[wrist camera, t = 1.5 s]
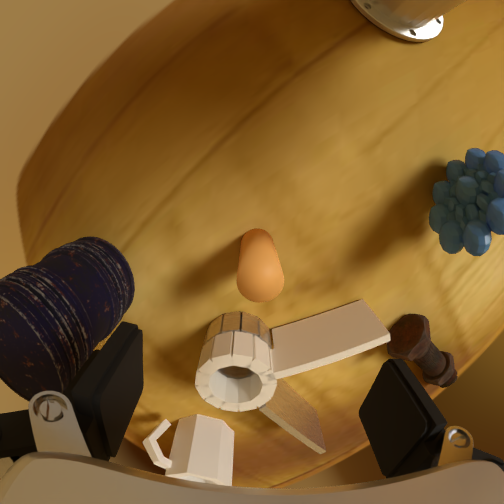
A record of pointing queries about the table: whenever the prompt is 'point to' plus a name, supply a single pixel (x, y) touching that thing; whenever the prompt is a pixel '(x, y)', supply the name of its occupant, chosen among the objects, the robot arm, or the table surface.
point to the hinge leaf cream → (284, 354)
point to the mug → (196, 450)
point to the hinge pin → (259, 267)
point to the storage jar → (60, 313)
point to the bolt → (421, 350)
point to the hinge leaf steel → (285, 397)
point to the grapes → (470, 202)
